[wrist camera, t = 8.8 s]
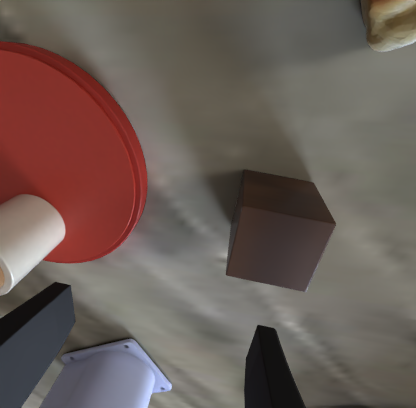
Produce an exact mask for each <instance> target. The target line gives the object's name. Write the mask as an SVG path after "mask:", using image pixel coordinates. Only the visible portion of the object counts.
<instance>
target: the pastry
mask: <svg viewBox="0 0 416 408" xmlns="http://www.w3.org/2000/svg"><path fill="white" fill-rule="evenodd" d="M361 8H362V17H363V22H364V24H365V27H366V28H367V33H366V37H367V42H368V44H369V46H370V47H371V48H372V49H373V50H375V51H379V52H386V51H390V50H392V49H396V48H400V47H403V46H405V45H409V44H412V43H414V42H416V0H361Z"/></svg>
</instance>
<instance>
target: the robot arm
mask: <svg viewBox="0 0 416 408" xmlns="http://www.w3.org/2000/svg"><path fill="white" fill-rule="evenodd" d="M74 323H75V314H74V306H73V299H72V292H71V285H67V284H63V283H58V282H55V283H53V284H52V285H50V286H49V287H47V288H46V289H44V290H43V291H41V292H40V293H38V294H37V295H35V296H34V297H32V298H31V299H29V300H28V301H26V302H25V303H23V304H22V305H20V306H19V307H17V308H16V309H14V310H13V311H11V312H10V313H8V314H7V315H5V316H4V317H2V318H1V319H0V408H21V407H22V405H23V404H24V402H25V401H26V399H27V398H28V397H29V395H30V394H31V392H32V391H33V389H34V388H35V386H36V385H37V383H38V382H39V380H40V379H41V377H42V376H43V375H44V373H45V372H46V370H47V369H48V367H49V366H50V364H51V363H52V361H53V360H54V358H55V357H56V355H57V354H58V352H59V351H60V349H61V348H62V346H63V344H64V342H65V340H66V338H67V337H68V335H69V333H70V331H71V329H72V327H73V325H74ZM61 360H62V361H63V362H64V363H65V366H64V368H63V369H62V371H61V373H60V374H59V376H58V378H57V379H56V381H55V382H54V384H53V386H52V387H51V389H50V391H49V392H48V394H47V396H46V397H45V399H44V400H43V402H42V404H41V405H40V407H39V408H147V407H148V404H149V400H150V397H151V393H157V392H164V391H169V390H171V387H172V385H171V383H170V382H169V381H168V380H167V378H166V377H165V376H164V375H163V374H162V372H161V371H160V370H159V369H158V367H157V366H156V365H155V364H154V363H153V361H152V360H151V359H150V358H149V357H148V355H147V354H146V353H145V352H144V351H143V349H142V348H141V347H140V346H139V345H138V343H137V342H136V341H135V340H133V339H126V340H122V341H118V342H114V343H109V344H105V345H101V346H96V347H92V348H88V349H84V350H79V351H75V352H71V353H66V354H63V356H62V357H61ZM244 395H245V408H306V407H305V405H304V402H303V400H302V398H301V395H300V393H299V391H298V388H297V386H296V383H295V381H294V379H293V376H292V374H291V371H290V369H289V366H288V363H287V361H286V358H285V355H284V353H283V350H282V347H281V344H280V341H279V338H278V335H277V332H276V330H275V329H274V328H271V327H266V326H261V325H257V328H256V331H255V334H254V337H253V340H252V343H251V346H250V349H249V352H248V355H247V357H246V369H245V386H244Z"/></svg>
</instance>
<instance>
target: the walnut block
mask: <svg viewBox="0 0 416 408" xmlns="http://www.w3.org/2000/svg"><path fill="white" fill-rule="evenodd" d="M335 226H336V223H335V221H334V219H333V217H332V215H331V213H330V212H329V210H328V208H327V206H326V204H325V203H324V201H323V199H322V197H321V195H320V193H319V192H318V190H317V188H316V186H315V184H314V183H313V182H308V181H303V180H298V179H292V178H287V177H282V176H277V175H271V174H266V173H261V172H256V171H251V170H244V171H243V176H242V180H241V185H240V189H239V193H238V198H237V202H236V206H235V211H234V215H233V220H232V224H231V230H230V239H229V248H228V257H227V267H226V275H227V276H232V277H236V278H241V279H246V280H251V281H255V282H260V283H265V284H270V285H274V286H279V287H284V288H289V289H293V290H298V291H303V292H306V291H307V289H308V287H309V284H310V282H311V280H312V278H313V275H314V273H315V271H316V269H317V266H318V264H319V262H320V260H321V257H322V255H323V253H324V251H325V248H326V246H327V244H328V242H329V239H330V237H331V235H332V233H333V230H334V228H335Z"/></svg>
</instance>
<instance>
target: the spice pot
mask: <svg viewBox="0 0 416 408" xmlns="http://www.w3.org/2000/svg"><path fill="white" fill-rule="evenodd" d="M64 236H65V224H64V221H63V219H62V217H61V215H60V214H59V212H58V211H57V210H56V209H55V208H54V207H53V206H52V205H51V204H50V203H49V202H47V201H46V200H44V199H42V198H40V197H37V196H34V195H30V194H20V195H16V196H14V197H12V198H10V199H9V200H7V201H5V202H3V203H2V204H0V296H1V295H4V294H6V293H8V292H9V291H10V290H11V289H12V288H13V287H15V286H16V285H17V284H18V283H19V282H20V281H21V280H22V279H23V278H24V277H25V276H26V275H27V274H28V273H29V272H30V271H31V270H32V269H33V268H34V267H36V266H37V265H38V264H39V263H40V262H41V261H42V260H43V259H44V258H45V257H46V256H47V255H48V254H49V253H50V252H51V251H52V250H53V249H54V248H56V247H57V246H58V245H59V244H60V243H61V242H62V240H63V239H64Z"/></svg>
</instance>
